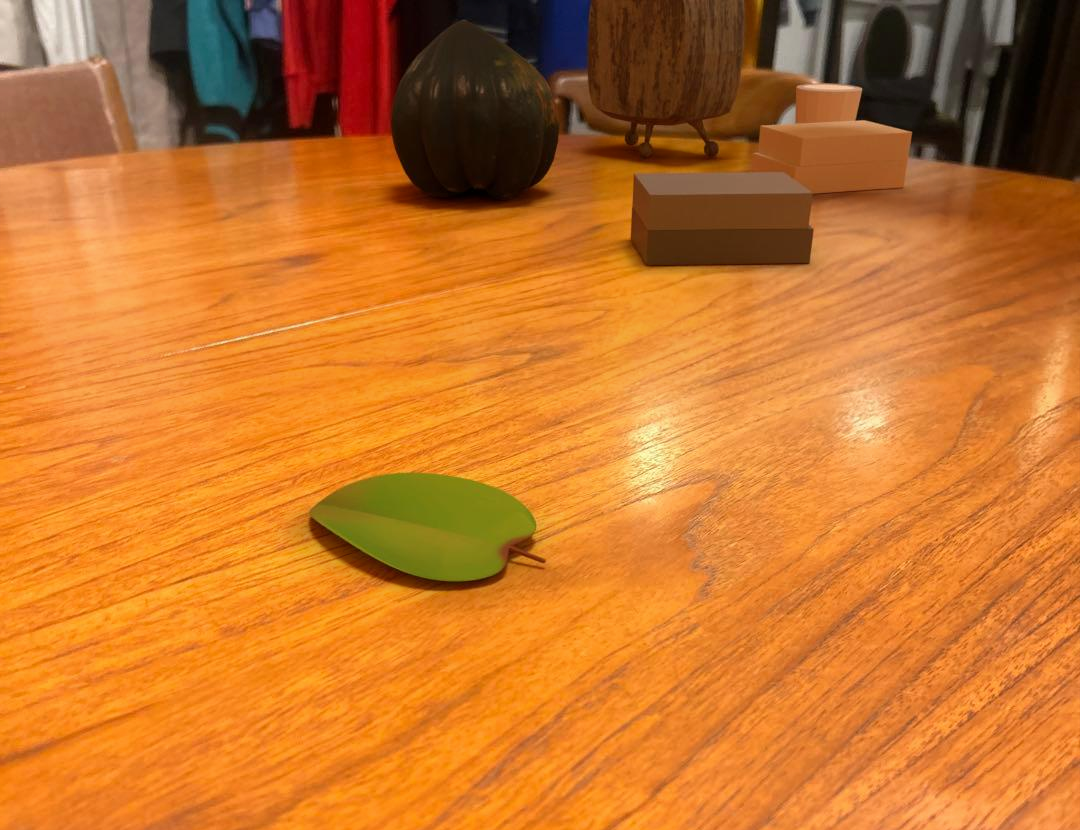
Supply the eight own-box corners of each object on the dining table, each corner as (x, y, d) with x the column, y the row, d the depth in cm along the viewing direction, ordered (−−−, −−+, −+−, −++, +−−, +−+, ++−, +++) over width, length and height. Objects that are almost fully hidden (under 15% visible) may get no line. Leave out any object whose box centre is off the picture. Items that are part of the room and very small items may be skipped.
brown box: (781, 237, 86) (788, 171, 84) (809, 263, 79) (818, 192, 77) (630, 238, 85) (633, 172, 83) (646, 265, 78) (649, 194, 76)
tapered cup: (786, 149, 122) (794, 82, 118) (849, 151, 121) (858, 83, 118) (790, 160, 116) (798, 89, 112) (856, 162, 115) (866, 91, 112)
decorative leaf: (379, 621, 38) (376, 599, 38) (298, 508, 45) (295, 488, 44) (569, 557, 41) (568, 535, 41) (467, 459, 48) (465, 440, 47)
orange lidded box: (855, 172, 110) (863, 119, 108) (903, 187, 103) (912, 132, 101) (750, 179, 107) (755, 125, 104) (792, 195, 100) (799, 138, 98)
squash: (504, 153, 87) (546, -8, 90) (343, 149, 92) (386, -4, 95) (555, 242, 100) (590, 99, 103) (411, 234, 105) (448, 98, 108)
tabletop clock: (734, 157, 117) (758, -114, 105) (686, 169, 111) (705, -117, 99) (627, 142, 125) (637, -110, 113) (577, 153, 119) (582, -113, 107)
